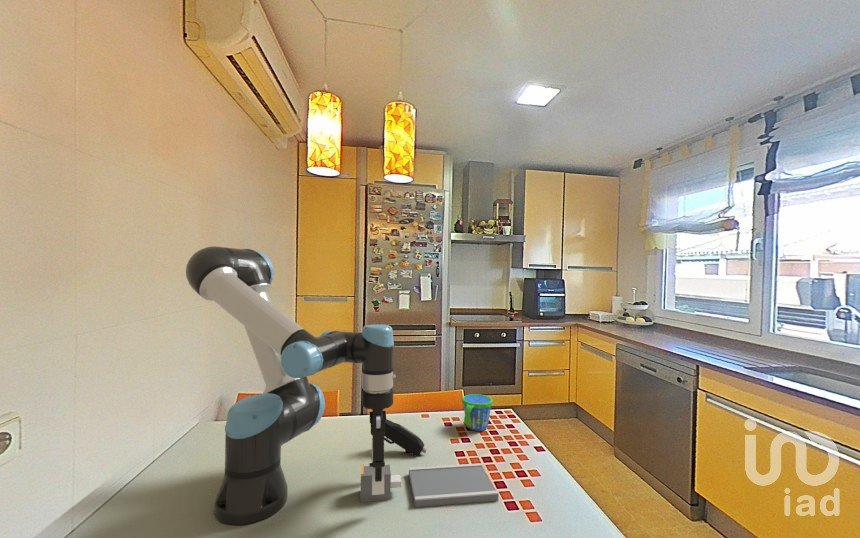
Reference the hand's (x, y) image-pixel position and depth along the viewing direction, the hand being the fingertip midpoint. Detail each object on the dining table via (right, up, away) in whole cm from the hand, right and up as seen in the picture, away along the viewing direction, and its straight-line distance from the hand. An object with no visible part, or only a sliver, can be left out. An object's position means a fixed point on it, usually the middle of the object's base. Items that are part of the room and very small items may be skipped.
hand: (377, 477), depth 89 cm
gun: (+4, -5, +22) cm, 23 cm away
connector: (+1, -4, 0) cm, 4 cm away
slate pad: (+18, -5, +4) cm, 19 cm away
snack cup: (+29, -6, +41) cm, 51 cm away
